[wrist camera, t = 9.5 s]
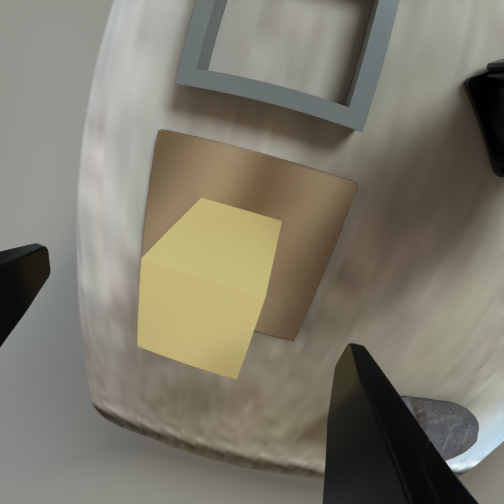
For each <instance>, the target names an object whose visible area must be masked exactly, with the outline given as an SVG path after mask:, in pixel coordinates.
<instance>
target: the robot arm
mask: <svg viewBox="0 0 504 504" xmlns="http://www.w3.org/2000/svg"><path fill="white" fill-rule="evenodd" d="M487 70H488V71H486V72H483V73H480V74H477V75H475V76H472V77H469V78H467V79H466V80H465V88H466V90H467V93H468V95H469V98H470V100H471V103H472V105H473V108H474V111H475V114H476V116H477V119H478V122H479V125H480V128H481V131H482V134H483V137H484V140H485V144H486V147H487V150H488V154H489V157H490V161H491V165H492V168H493V172H494V174H495V175H497V176H498V177H504V59H501V60H498V61H495V62H491V63H488V65H487ZM471 82H473V83H474V85H475V88H474V89H473V88H472V87H471ZM500 166H501V171H500V172H499V167H500ZM49 275H50V262H49V254H48V249H47V248H46V247H45V246H43V245H40V244H38V243H35V244H30V245H26V246H22V247H18V248H13V249H9V250H5V251H1V252H0V347H1V346H2V344H3V343H4V341H5V340H6V338H7V337H8V336H9V334H10V333H11V332H12V330H13V329H14V327H15V326H16V325H17V323H18V322H19V321H20V319H21V318H22V317H23V315H24V314H25V313H26V311H27V309H28V308H29V306H30V305H31V303H32V302H33V300H34V299H35V297H36V295H37V294H38V292H39V291H40V289H41V288H42V286H43V285H44V283H45V282H46V280H47V279H48V277H49ZM429 440H430V439H429V437H428V436H427V434H426V433H425V431H424V430H423V428H422V427H421V425H420V424H419V423H418V421H417V420H416V418H415V417H414V415H413V414H412V412H411V411H410V410H409V408H408V407H407V405H406V404H405V402H404V401H403V400H402V398H401V397H400V395H399V394H398V392H397V391H396V390H395V388H394V387H393V385H392V384H391V383H390V381H389V380H388V378H387V377H386V376H385V374H384V373H383V371H382V370H381V369H380V367H379V366H378V364H377V363H376V362H375V360H374V359H373V357H372V356H371V355H370V353H369V352H368V351H367V349H366V348H365V347H364V346H362V345H358V344H354V343H350V344H348V345H347V347H346V348H345V350H344V352H343V354H342V356H341V357H340V359H339V361H338V362H337V365H336V367H335V371H334V379H333V386H332V393H331V400H330V407H329V414H328V423H327V444H326V463H325V478H324V492H323V504H478V502H477V501H476V500H475V499H474V497H473V496H472V495H471V494H470V492H469V491H468V490H467V489H466V487H465V486H464V485H463V484H462V482H461V481H460V480H459V479H458V477H457V476H456V475H455V474H454V472H453V471H452V470H451V468H450V467H449V466H448V464H447V463H446V462H445V460H444V459H443V457H442V456H441V454H440V453H439V452H438V450H437V449H436V447H435V446H434V444H433V443H432V441H429Z"/></svg>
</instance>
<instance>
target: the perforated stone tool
mask: <svg viewBox="0 0 504 504" xmlns="http://www.w3.org/2000/svg"><path fill="white" fill-rule="evenodd" d="M401 398H402V400H403V401H404V402H405V404H406V405H407V407H408V408H409V410H410V411H411V412H412V414H413V415H414V417H415V418H416V420H417V421H418V423H419V424H420V425H421V427H422V428H423V430H424V431H425V433H426V434H427V436H428V437H429V439H430V440H429V441H432V443H433V444H434V446H435V447H436V449H437V450H438V452H439V453H440V454H441V456H442V457H443V459H444V460H445V461H446V460H448V459H451V458H454V457H456V456H458V455H460V454H462V453H464V452H465V451H467V450H468V449H469V448H470V447H471V446H473V445H474V443H476V441H477V435H478V431H479V424H478V421H477V419H476V417H475V416H474V415H473V414H472V413H471V412H470V411H469V410H467V409H466V408H464V407H463V406H461V405H458V404H455V403H452V402H448V401H435V400H433V399H423V398H416V397H401Z"/></svg>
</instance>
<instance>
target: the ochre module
mask: <svg viewBox="0 0 504 504" xmlns="http://www.w3.org/2000/svg"><path fill="white" fill-rule="evenodd" d="M281 223H282V221H280V220H277V219H273V218H270V217H266V216H263V215H260V214H256V213H253V212H249V211H246V210H243V209H239V208H236V207H232V206H229V205H225V204H222V203H218V202H214V201H211V200H207V199H204V198H201V199H200V200H199V201H198V202H197V203H196V204H195V205H193V206H192V207H191V208H190V209H189V210H188V211H187V212H186V213H185V214H184V215H183V216H182V217H181V218H180V219H179V220H178V221H177V222H176V223H175V224H174V225H173V226H172V227H171V228H170V229H169V230H168V231H167V232H166V233H165V234H164V235H163V236H162V238H161V239H160V240H159V241H158V242H157V243H156V244H155V245H154V246H153V247H152V248H151V249H150V250H149V251H148V252H147V253H146V254H145V255H144V256H143V257H142V258H141V270H140V285H139V305H138V336H137V346H138V347H141V348H143V349H146V350H149V351H151V352H154V353H157V354H159V355H162V356H165V357H168V358H170V359H173V360H176V361H179V362H182V363H185V364H188V365H191V366H194V367H197V368H200V369H203V370H206V371H209V372H212V373H215V374H219V375H222V376H225V377H229V378H232V379H235V380H237V378H238V375H239V372H240V369H241V366H242V364H243V361H244V358H245V355H246V352H247V349H248V347H249V344H250V341H251V338H252V335H253V332H254V329H255V326H256V323H257V321H258V318H259V315H260V312H261V309H262V306H263V303H264V300H265V297H266V292H267V288H268V283H269V279H270V274H271V270H272V265H273V260H274V256H275V251H276V247H277V242H278V237H279V233H280V228H281Z"/></svg>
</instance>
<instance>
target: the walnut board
mask: <svg viewBox="0 0 504 504" xmlns="http://www.w3.org/2000/svg"><path fill="white" fill-rule="evenodd" d="M357 186H358V185H357V183H355V182H352V181H349V180H346V179H343V178H341V177H338V176H335V175H332V174H329V173H326V172H322V171H319V170H316V169H313V168H310V167H307V166H304V165H300V164H297V163H294V162H290V161H287V160H284V159H280V158H277V157H273V156H270V155H266V154H263V153H259V152H256V151H252V150H248V149H244V148H241V147H237V146H233V145H229V144H225V143H221V142H217V141H213V140H209V139H204V138H200V137H196V136H191V135H187V134H182V133H178V132H173V131H168V130H163V129H162V130H158V135H157V141H156V146H155V152H154V159H153V165H152V172H151V178H150V186H149V193H148V201H147V209H146V218H145V227H144V237H143V247H142V257H143V256H144V255H145V254H146V253H147V252H148V251H149V250H150V249H151V248H152V247H153V246H154V245H155V244H156V243H157V242H158V241H159V240H160V239H161V238H162V236H163V235H164V234H165V233H166V232H167V231H168V230H169V229H170V228H171V227H172V226H173V225H174V224H175V223H176V222H177V221H178V220H179V219H180V218H181V217H182V216H183V215H184V214H185V213H186V212H187V211H188V210H189V209H190V208H191V207H192V206H193V205H195V204H196V203H197V202H198V201H199V200H200V199H201V198H204V199H207V200H211V201H214V202H218V203H222V204H225V205H229V206H232V207H236V208H239V209H243V210H246V211H249V212H253V213H256V214H260V215H263V216H266V217H270V218H273V219H277V220H280V221H282V223H281V228H280V233H279V237H278V242H277V247H276V251H275V256H274V260H273V265H272V270H271V274H270V279H269V283H268V288H267V292H266V297H265V300H264V303H263V306H262V309H261V312H260V315H259V318H258V321H257V323H256V326H255V329H254V330H255V331H259V332H262V333H266V334H269V335H273V336H276V337H280V338H283V339H287V340H291V341H294V340H295V338H296V336H297V333H298V331H299V329H300V327H301V325H302V322H303V320H304V318H305V316H306V313H307V311H308V309H309V307H310V304H311V302H312V300H313V297H314V295H315V293H316V290H317V288H318V286H319V283H320V281H321V279H322V276H323V274H324V271H325V269H326V267H327V264H328V262H329V259H330V257H331V254H332V252H333V249H334V247H335V244H336V242H337V239H338V237H339V234H340V232H341V229H342V226H343V224H344V221H345V219H346V216H347V213H348V211H349V208H350V205H351V203H352V200H353V197H354V194H355V192H356V189H357Z"/></svg>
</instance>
